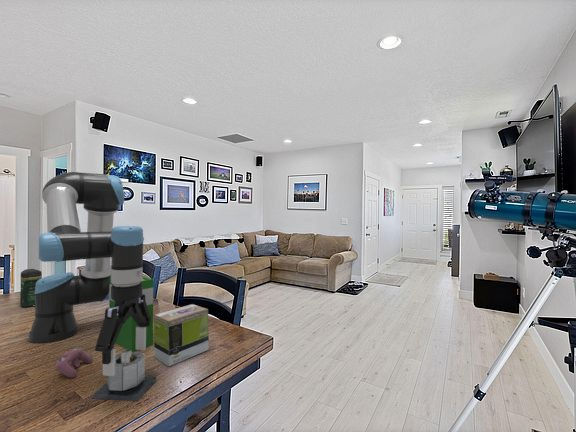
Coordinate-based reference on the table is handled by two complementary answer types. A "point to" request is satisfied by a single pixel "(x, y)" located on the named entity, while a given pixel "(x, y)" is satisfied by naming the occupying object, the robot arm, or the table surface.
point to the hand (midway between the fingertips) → (126, 361)
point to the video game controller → (72, 362)
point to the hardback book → (129, 327)
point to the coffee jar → (29, 286)
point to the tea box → (180, 333)
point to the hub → (127, 373)
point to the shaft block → (128, 394)
